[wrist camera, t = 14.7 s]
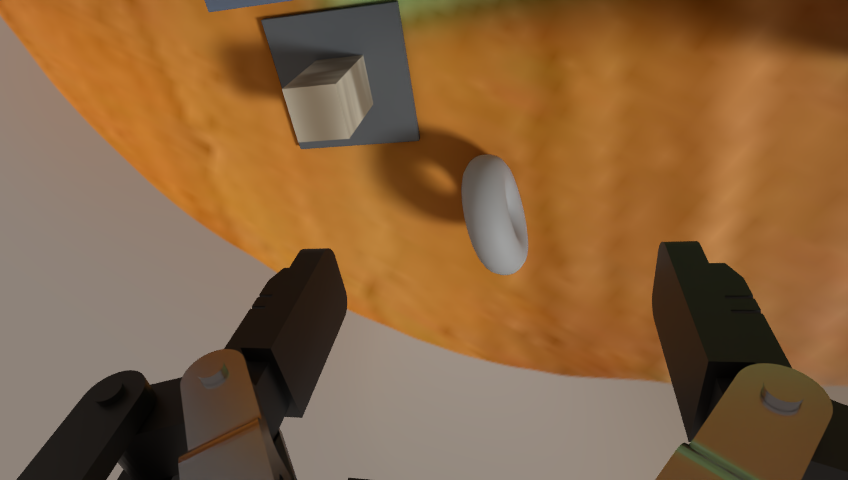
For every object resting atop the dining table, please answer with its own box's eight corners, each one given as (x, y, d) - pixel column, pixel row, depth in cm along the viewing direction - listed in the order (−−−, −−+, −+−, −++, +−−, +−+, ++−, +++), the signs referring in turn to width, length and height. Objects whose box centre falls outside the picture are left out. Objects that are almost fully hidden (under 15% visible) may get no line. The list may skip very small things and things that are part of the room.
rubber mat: (397, 0, 38) (396, 2, 37) (420, 138, 44) (418, 140, 43) (264, 18, 40) (261, 20, 40) (303, 146, 46) (300, 149, 46)
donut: (462, 140, 43) (447, 199, 35) (501, 129, 42) (494, 187, 34) (497, 233, 48) (490, 304, 40) (533, 225, 47) (533, 296, 39)
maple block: (363, 54, 40) (335, 83, 34) (373, 104, 42) (349, 138, 36) (316, 60, 41) (281, 89, 35) (328, 108, 43) (298, 142, 37)
